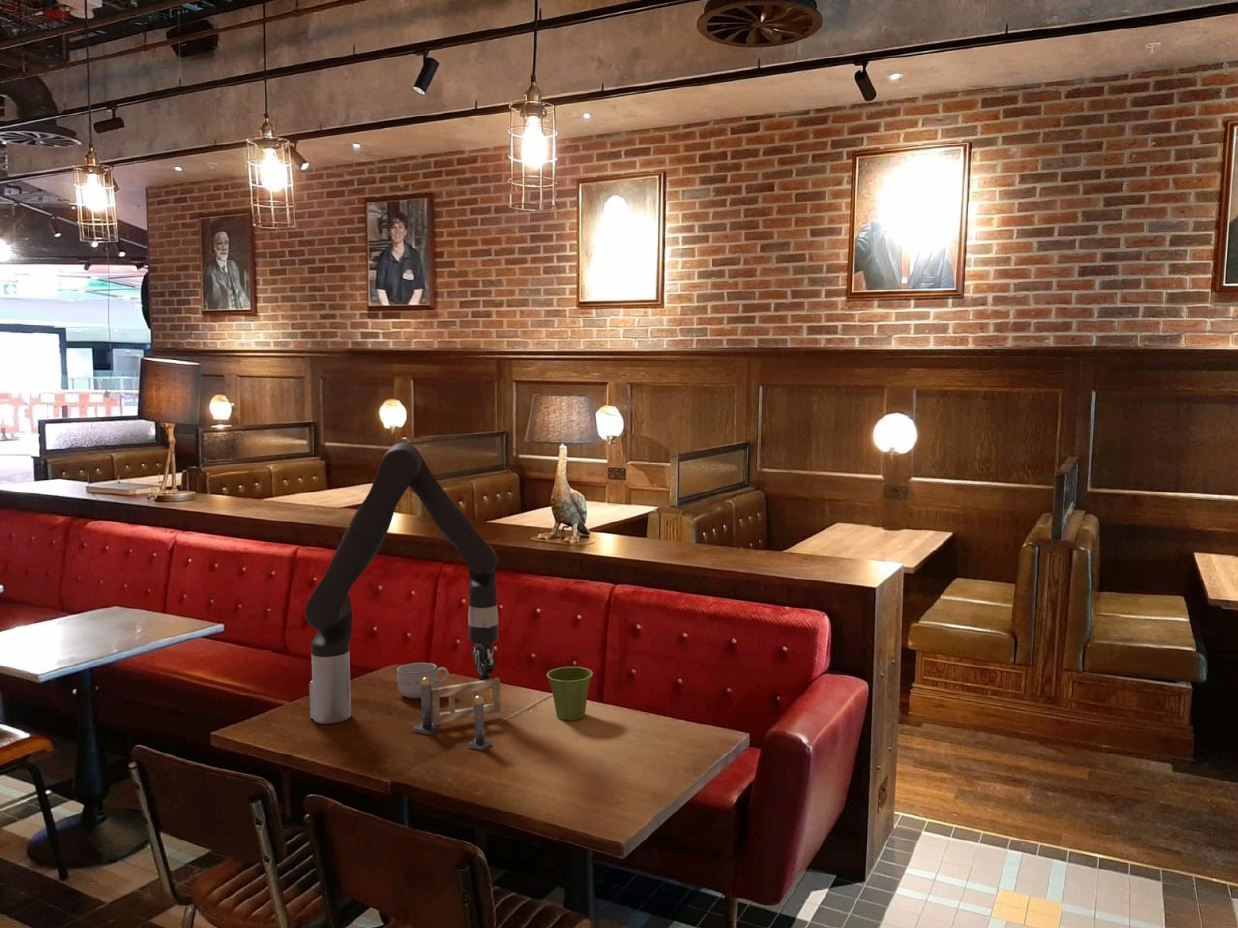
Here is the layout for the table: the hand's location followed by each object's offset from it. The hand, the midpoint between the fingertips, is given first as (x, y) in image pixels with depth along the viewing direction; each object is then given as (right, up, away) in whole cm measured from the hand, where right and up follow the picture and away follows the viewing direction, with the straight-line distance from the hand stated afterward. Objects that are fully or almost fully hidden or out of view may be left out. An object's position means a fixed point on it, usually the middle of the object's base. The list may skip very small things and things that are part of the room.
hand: (483, 687), depth 237 cm
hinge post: (-13, -8, -10) cm, 18 cm away
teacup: (-19, -6, +16) cm, 25 cm away
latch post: (+2, -9, -20) cm, 22 cm away
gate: (-4, -6, -5) cm, 9 cm away
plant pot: (+22, -7, 0) cm, 23 cm away
